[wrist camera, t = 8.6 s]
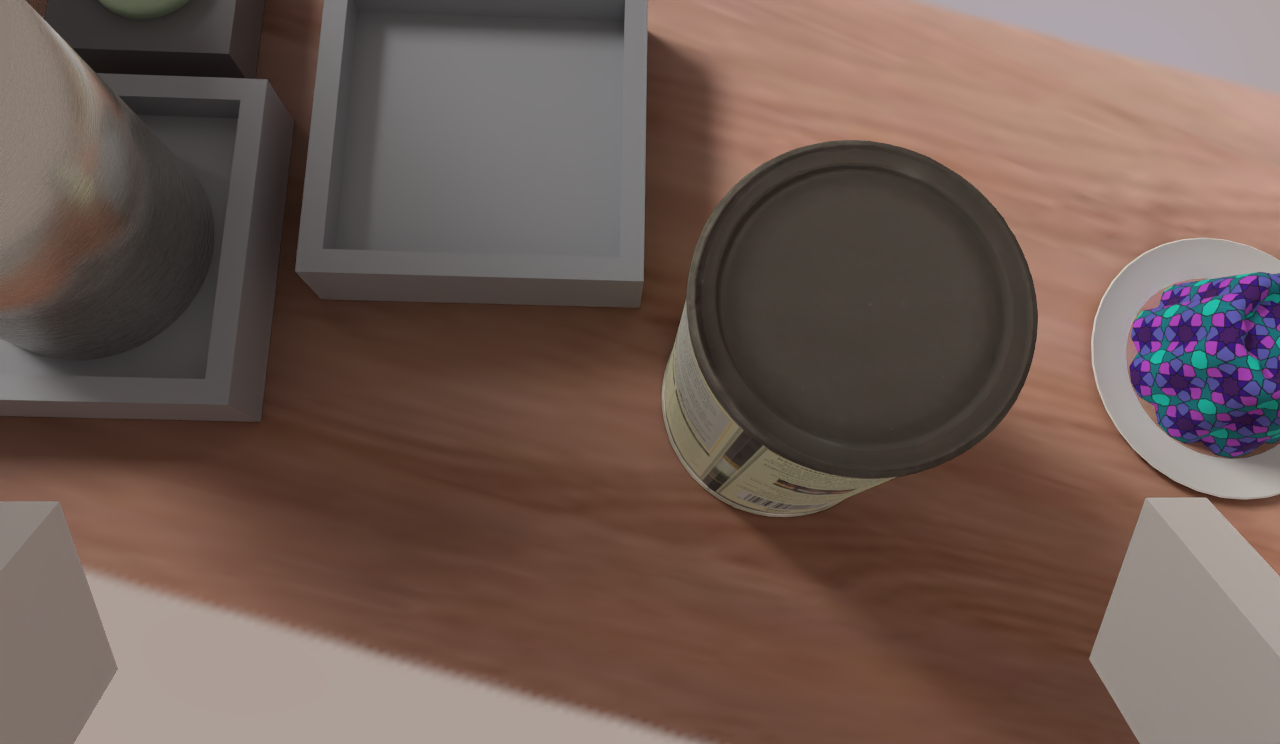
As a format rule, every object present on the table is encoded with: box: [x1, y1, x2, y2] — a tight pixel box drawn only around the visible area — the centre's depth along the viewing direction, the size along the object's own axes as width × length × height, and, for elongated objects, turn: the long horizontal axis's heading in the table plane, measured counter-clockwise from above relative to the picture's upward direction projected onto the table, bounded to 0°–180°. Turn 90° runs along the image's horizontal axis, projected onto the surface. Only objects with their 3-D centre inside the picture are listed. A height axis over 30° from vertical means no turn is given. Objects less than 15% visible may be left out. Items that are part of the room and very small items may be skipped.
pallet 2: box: [295, 0, 648, 308], centre depth 41 cm, size 14×14×4 cm
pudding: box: [1091, 238, 1280, 500], centre depth 40 cm, size 12×12×5 cm
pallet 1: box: [0, 73, 295, 422], centre depth 39 cm, size 14×14×4 cm
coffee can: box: [661, 140, 1038, 517], centre depth 34 cm, size 10×10×14 cm
